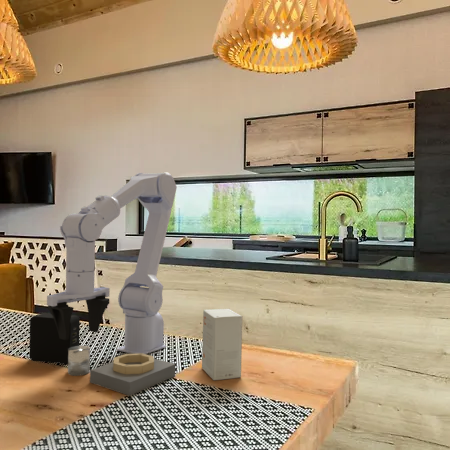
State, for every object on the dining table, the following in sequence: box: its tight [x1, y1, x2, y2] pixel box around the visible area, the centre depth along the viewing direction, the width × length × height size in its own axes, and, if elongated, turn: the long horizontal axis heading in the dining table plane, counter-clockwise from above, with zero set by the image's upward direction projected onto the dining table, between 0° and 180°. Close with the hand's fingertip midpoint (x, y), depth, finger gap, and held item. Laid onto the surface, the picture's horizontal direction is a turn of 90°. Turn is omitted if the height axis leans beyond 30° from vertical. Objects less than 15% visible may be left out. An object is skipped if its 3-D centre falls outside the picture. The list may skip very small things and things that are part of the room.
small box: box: [201, 308, 243, 381], centre depth 99 cm, size 8×6×13 cm
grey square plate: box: [89, 353, 176, 396], centre depth 94 cm, size 13×11×4 cm
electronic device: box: [29, 312, 81, 365], centre depth 105 cm, size 4×10×10 cm, turn 78°
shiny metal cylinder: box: [67, 345, 91, 377], centre depth 97 cm, size 4×4×5 cm
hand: (79, 335), depth 97 cm, fingers open, 7 cm apart
